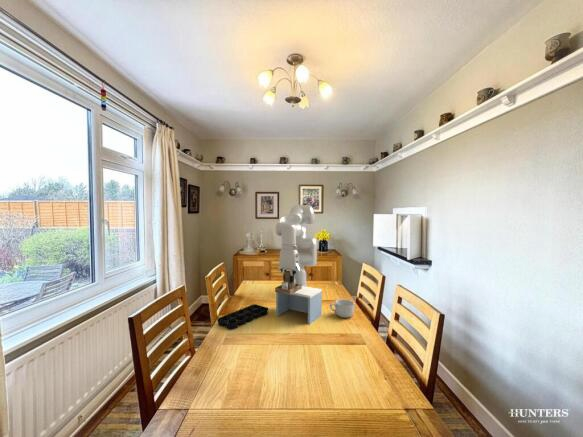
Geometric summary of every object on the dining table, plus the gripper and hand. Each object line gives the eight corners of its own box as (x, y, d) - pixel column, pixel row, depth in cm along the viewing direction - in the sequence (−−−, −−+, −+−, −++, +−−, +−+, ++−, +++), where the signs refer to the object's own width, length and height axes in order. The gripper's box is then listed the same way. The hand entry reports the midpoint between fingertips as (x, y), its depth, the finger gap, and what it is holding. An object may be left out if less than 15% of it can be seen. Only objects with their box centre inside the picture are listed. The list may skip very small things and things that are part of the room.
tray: (287, 286, 146) (287, 268, 146) (301, 288, 142) (301, 270, 141) (275, 291, 136) (275, 272, 136) (290, 294, 132) (290, 274, 131)
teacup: (352, 312, 156) (353, 299, 156) (355, 320, 146) (355, 305, 146) (329, 311, 158) (329, 298, 158) (330, 319, 147) (330, 304, 147)
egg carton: (213, 327, 137) (213, 320, 137) (246, 308, 164) (246, 302, 164) (241, 334, 130) (241, 326, 130) (271, 312, 157) (271, 306, 157)
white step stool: (289, 307, 164) (289, 283, 163) (321, 315, 152) (321, 289, 152) (276, 315, 152) (276, 289, 151) (309, 324, 140) (310, 295, 140)
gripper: (305, 247, 137) (305, 282, 138) (279, 245, 146) (279, 278, 146) (298, 249, 131) (298, 286, 131) (271, 247, 139) (271, 281, 140)
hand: (288, 281), depth 139 cm, fingers closed on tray, 3 cm apart
